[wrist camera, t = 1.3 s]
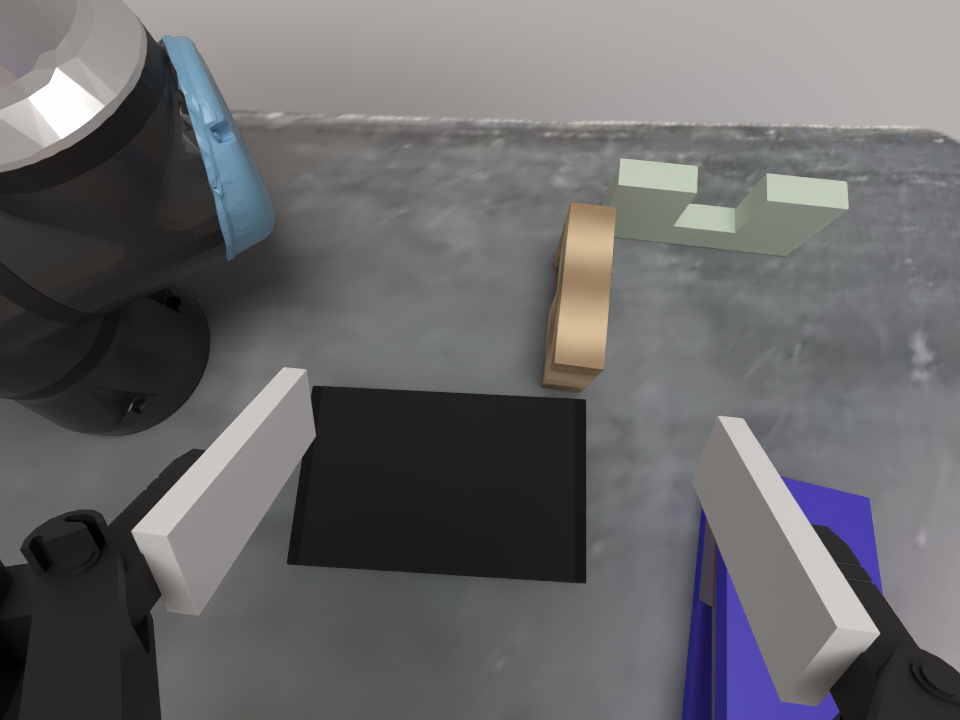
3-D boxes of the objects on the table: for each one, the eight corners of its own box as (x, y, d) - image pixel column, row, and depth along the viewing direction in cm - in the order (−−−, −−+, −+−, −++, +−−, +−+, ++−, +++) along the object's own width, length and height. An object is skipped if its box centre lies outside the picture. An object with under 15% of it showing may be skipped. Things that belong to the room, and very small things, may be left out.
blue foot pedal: (657, 853, 33) (724, 1001, 24) (696, 463, 40) (760, 458, 31) (822, 899, 33) (960, 1072, 23) (834, 492, 39) (944, 497, 30)
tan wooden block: (580, 392, 42) (603, 369, 33) (541, 387, 42) (554, 363, 33) (591, 260, 45) (616, 207, 36) (555, 256, 45) (570, 202, 36)
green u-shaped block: (596, 235, 45) (618, 184, 38) (598, 212, 46) (620, 158, 38) (786, 256, 44) (848, 209, 37) (785, 233, 45) (846, 181, 37)
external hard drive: (325, 391, 42) (312, 385, 40) (580, 404, 42) (586, 398, 39) (301, 558, 39) (286, 565, 36) (579, 576, 38) (587, 584, 35)
